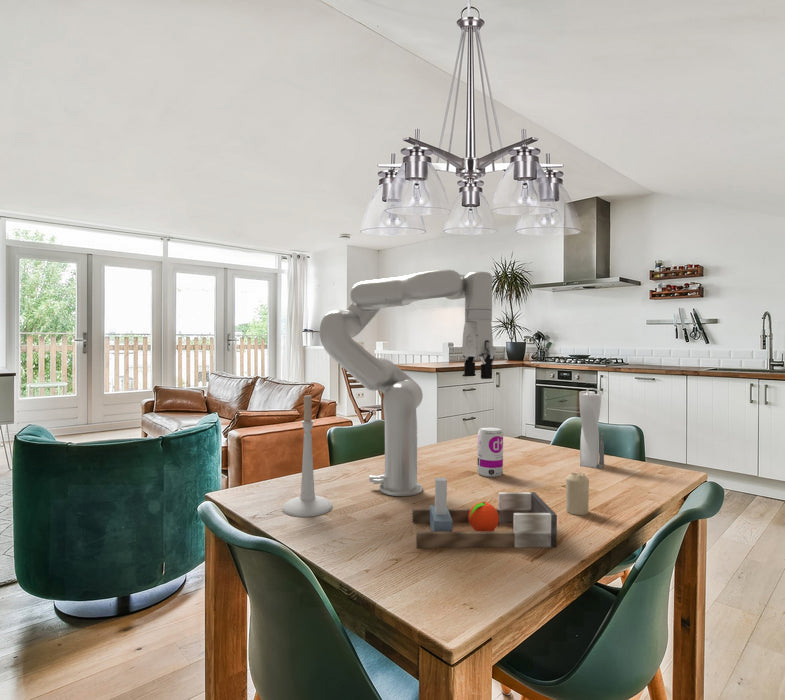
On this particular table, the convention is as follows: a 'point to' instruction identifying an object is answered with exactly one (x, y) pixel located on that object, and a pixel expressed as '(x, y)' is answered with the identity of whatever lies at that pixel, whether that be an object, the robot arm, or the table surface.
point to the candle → (577, 494)
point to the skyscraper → (590, 430)
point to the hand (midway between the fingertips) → (477, 377)
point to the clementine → (483, 517)
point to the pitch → (521, 508)
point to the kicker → (440, 508)
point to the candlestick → (307, 476)
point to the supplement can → (490, 451)
